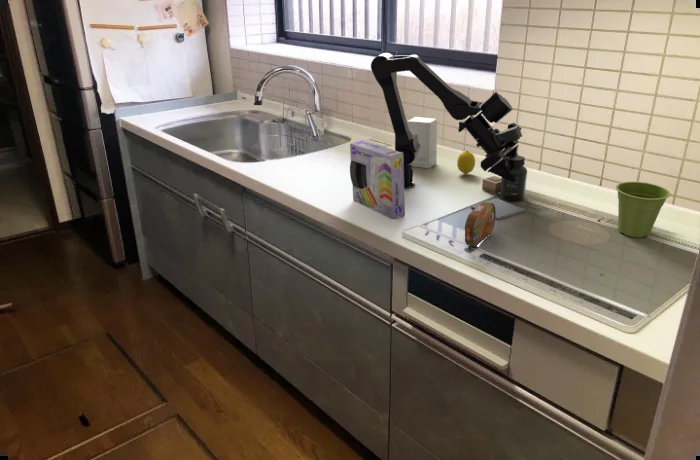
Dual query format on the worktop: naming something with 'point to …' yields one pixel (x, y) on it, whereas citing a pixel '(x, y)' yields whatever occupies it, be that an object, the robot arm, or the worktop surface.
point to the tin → (480, 223)
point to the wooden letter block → (492, 184)
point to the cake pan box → (378, 178)
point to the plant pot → (639, 207)
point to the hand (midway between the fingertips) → (519, 176)
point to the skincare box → (425, 141)
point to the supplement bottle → (517, 188)
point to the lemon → (466, 162)
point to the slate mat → (503, 208)
